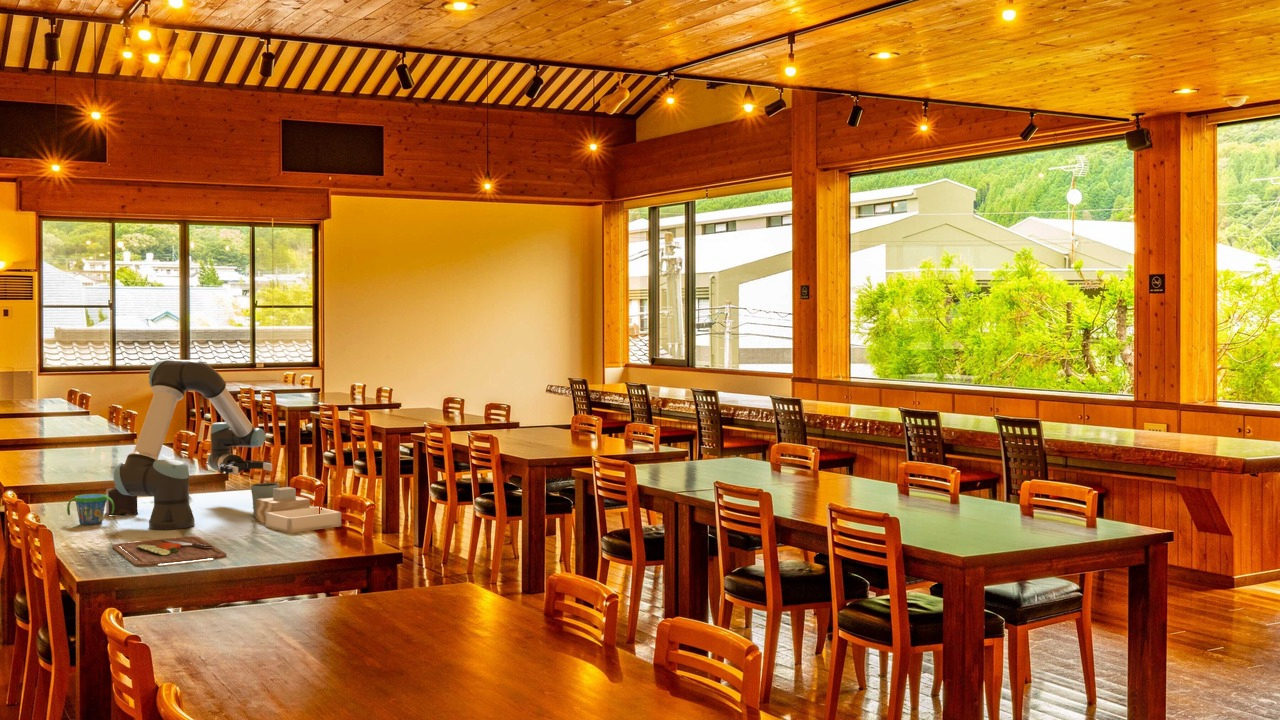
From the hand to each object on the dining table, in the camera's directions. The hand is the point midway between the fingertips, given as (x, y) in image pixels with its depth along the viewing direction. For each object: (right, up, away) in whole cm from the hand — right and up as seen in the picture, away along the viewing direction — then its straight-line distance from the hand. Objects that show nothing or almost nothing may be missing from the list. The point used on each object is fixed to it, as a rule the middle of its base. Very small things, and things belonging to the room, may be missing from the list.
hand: (254, 469), depth 455 cm
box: (+27, -18, -30) cm, 44 cm away
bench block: (+16, -17, -18) cm, 30 cm away
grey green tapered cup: (+6, -17, -7) cm, 20 cm away
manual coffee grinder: (-48, -17, +1) cm, 51 cm away
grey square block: (+17, -9, -19) cm, 28 cm away
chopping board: (-3, -20, -76) cm, 79 cm away
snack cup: (-52, -18, -23) cm, 59 cm away
